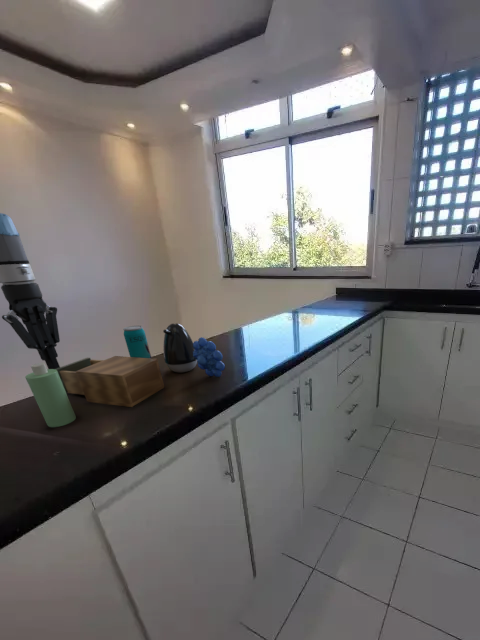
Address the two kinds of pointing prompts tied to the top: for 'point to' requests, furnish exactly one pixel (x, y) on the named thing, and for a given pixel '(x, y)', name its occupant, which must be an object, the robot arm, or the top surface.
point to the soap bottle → (50, 395)
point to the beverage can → (136, 342)
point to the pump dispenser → (178, 349)
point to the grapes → (208, 357)
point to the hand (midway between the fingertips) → (54, 369)
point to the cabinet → (121, 380)
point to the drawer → (74, 375)
